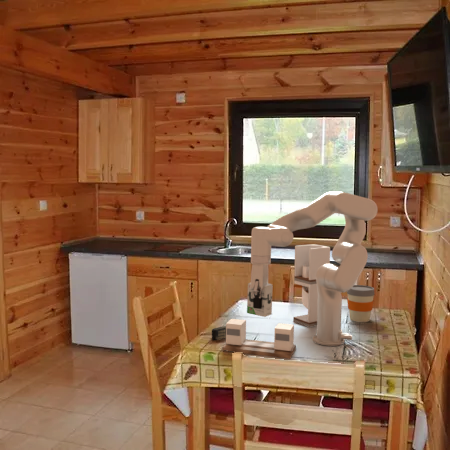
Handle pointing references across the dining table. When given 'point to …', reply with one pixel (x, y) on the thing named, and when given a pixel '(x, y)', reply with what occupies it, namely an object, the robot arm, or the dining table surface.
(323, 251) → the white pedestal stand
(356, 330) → the dining table surface
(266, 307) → the ink box
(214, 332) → the mobile phone
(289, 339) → the mounted modules
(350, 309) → the reusable coffee cup
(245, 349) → the rail board
